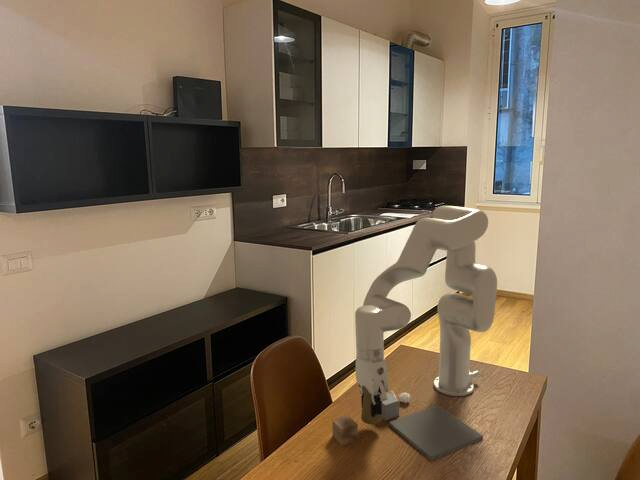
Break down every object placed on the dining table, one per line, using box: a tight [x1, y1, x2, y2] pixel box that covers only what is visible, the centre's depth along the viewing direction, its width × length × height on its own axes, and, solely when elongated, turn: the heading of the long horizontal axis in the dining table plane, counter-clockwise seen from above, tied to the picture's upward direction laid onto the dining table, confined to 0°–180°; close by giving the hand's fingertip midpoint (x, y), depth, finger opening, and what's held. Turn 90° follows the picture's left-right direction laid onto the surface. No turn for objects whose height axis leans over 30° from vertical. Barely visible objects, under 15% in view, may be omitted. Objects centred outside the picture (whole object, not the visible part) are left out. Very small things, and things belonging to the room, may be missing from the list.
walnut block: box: [332, 414, 359, 447], centre depth 132 cm, size 5×5×5 cm
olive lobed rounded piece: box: [360, 386, 384, 425], centre depth 135 cm, size 6×6×11 cm
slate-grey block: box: [382, 392, 400, 421], centre depth 144 cm, size 5×5×5 cm
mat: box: [388, 404, 484, 461], centre depth 135 cm, size 18×18×1 cm
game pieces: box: [389, 390, 412, 405], centre depth 153 cm, size 12×3×3 cm, turn 56°
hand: (371, 410), depth 136 cm, fingers closed on olive lobed rounded piece, 4 cm apart
